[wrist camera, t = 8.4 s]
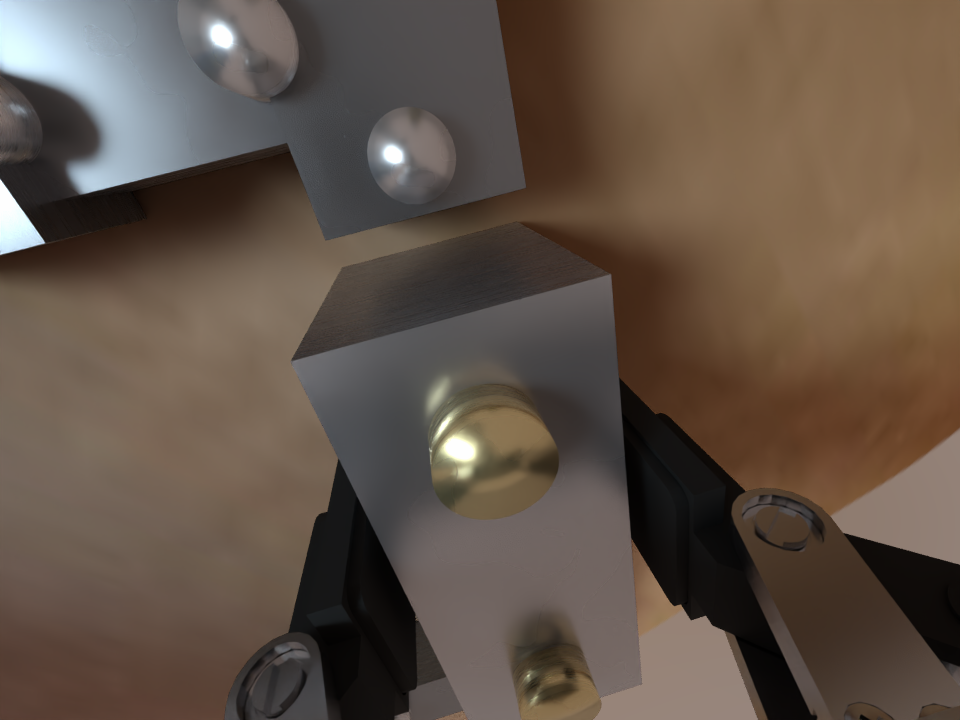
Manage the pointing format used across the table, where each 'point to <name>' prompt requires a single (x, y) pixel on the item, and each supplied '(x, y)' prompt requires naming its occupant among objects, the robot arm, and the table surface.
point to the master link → (490, 460)
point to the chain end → (250, 106)
